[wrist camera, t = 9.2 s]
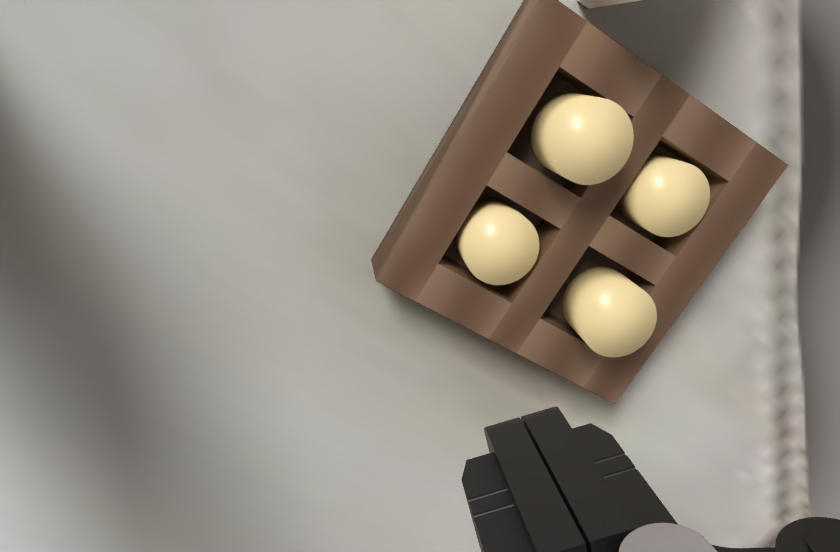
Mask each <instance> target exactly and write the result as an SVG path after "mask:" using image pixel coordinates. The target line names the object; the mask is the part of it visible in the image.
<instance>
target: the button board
mask: <svg viewBox="0 0 840 552" xmlns="http://www.w3.org/2000/svg"><path fill="white" fill-rule="evenodd" d="M569 93H577V94H583V95H589V96H595V97H600V98H605V99H609V100H611V101H613V102H615V103H617V104H618V105H619V106H621V107H622V108H623V109H624V110H625V112H626V113H627V115H628V116H629V118H630V120H631V123H632V127H633V134H634V140H633V147H632V150H631V154H630V156H629V158H628V160H627V162H626V163H625V165H624V166H623V167H622V169H621V170H620V171H619V172H618V173H617V174H615V175H614V176H613V177H611V178H610V179H608V180H606V181H604V182H602V183H599V184H594V185H581V184H577V183H574V182H572V181H570V180H568V179H566V178H564V177H562V176H561V175H559V174H557V173H555V172H553V171H551V170H549V169H548V168H546V167H545V166H544V165H542V164H541V163H540V161H539V160H538V159H537V157H536V155H535V153H534V151H533V148H532V143H531V131H532V126H533V123H534V120H535V118H536V116H537V114H538V113H539V111H540V110H541V109H542V108H543V106H544V105H545V104H547V103H548V102H549V101H550V100H552V99H554V98H556V97H558V96H560V95H563V94H569ZM651 153H654V154H660V155H663V156H667V157H670V158H673V159H676V160H679V161H682V162H686V163H689V164H691V165H694V166H695V167H697V168H698V169H700V170H701V171H702V172H703V174H704V175H705V177H706V178H707V181H708V184H709V188H710V200H709V204H708V207H707V210H706V212H705V214H704V216H703V217H702V219H701V220H700V221H699V223H698V224H697V225H696V226H695V227H693V228H692V229H691V230H689V231H688V232H686V233H684V234H682V235H679V236H675V237H661V236H658V235H655V234H653V233H651V232H649V231H648V230H646V229H644V228H642V227H641V226H639V225H637V224H635V223H633V222H632V221H630V220H628V219H626V218H625V217H624V216H623V215H622V214H621V213H620V212H619V211H618V209H617V207H616V205H617V203H618V202H619V200H620V199H621V197H622V196H623V194H624V193H625V191H626V190H627V188H628V187H629V185H630V184H631V182H632V181H633V179H634V178H635V176H636V175H637V173H638V172H639V170H640V169H641V167H642V166H643V164H644V163H645V161H646V160H647V158H648V157H649V155H650V154H651ZM787 166H788V164H786V163H785V162H783V161H782V160H781V159H779V158H778V157H776V156H775V155H774V154H772V153H771V152H769V151H768V150H767V149H765V148H764V147H762V146H761V145H760V144H758V143H757V142H755V141H754V140H753V139H751V138H750V137H748V136H747V135H746V134H744V133H743V132H741V131H740V130H739V129H737V128H736V127H734V126H733V125H732V124H730V123H729V122H727V121H726V120H725V119H723V118H722V117H720V116H719V115H718V114H716V113H715V112H713V111H712V110H711V109H709V108H708V107H706V106H705V105H704V104H702V103H701V102H699V101H698V100H697V99H695V98H694V97H692V96H691V95H690V94H688V93H687V92H685V91H684V90H683V89H681V88H680V87H678V86H677V85H676V84H674V83H673V82H671V81H670V80H669V79H667V78H666V77H664V76H663V75H662V74H660V73H659V72H657V71H656V70H655V69H653V68H652V67H650V66H649V65H648V64H646V63H645V62H643V61H642V60H641V59H639V58H638V57H636V56H635V55H634V54H632V53H631V52H629V51H628V50H626V49H625V48H624V47H622V46H621V45H619V44H618V43H617V42H615V41H614V40H612V39H611V38H610V37H608V36H607V35H605V34H604V33H603V32H601V31H600V30H598V29H597V28H596V27H594V26H593V25H591V24H590V23H589V22H587V21H586V20H584V19H583V18H582V17H580V16H579V15H577V14H576V13H575V12H573V11H572V10H570V9H569V8H568V7H566V6H565V5H563V4H562V3H561V2H559V1H558V0H524V1H523V3H522V4H521V6H520V8H519V9H518V11H517V13H516V15H515V16H514V18H513V20H512V21H511V23H510V25H509V26H508V28H507V30H506V32H505V33H504V35H503V37H502V38H501V40H500V42H499V43H498V45H497V47H496V49H495V50H494V52H493V54H492V55H491V57H490V59H489V60H488V62H487V64H486V66H485V67H484V69H483V71H482V72H481V74H480V76H479V77H478V79H477V81H476V83H475V84H474V86H473V88H472V89H471V91H470V93H469V94H468V96H467V98H466V99H465V101H464V103H463V105H462V106H461V108H460V110H459V111H458V113H457V115H456V116H455V118H454V120H453V122H452V123H451V125H450V127H449V128H448V130H447V132H446V133H445V135H444V137H443V139H442V140H441V142H440V144H439V145H438V147H437V149H436V150H435V152H434V154H433V156H432V157H431V159H430V161H429V162H428V164H427V166H426V167H425V169H424V171H423V173H422V174H421V176H420V178H419V179H418V181H417V183H416V184H415V186H414V188H413V189H412V191H411V193H410V195H409V196H408V198H407V200H406V201H405V203H404V205H403V206H402V208H401V210H400V212H399V213H398V215H397V217H396V218H395V220H394V222H393V223H392V225H391V227H390V229H389V230H388V232H387V234H386V235H385V237H384V239H383V240H382V242H381V244H380V246H379V247H378V249H377V251H376V252H375V254H374V256H373V257H372V259H371V260H372V264H373V269H374V274H375V279H376V281H377V282H379V283H381V284H383V285H384V286H386V287H388V288H390V289H392V290H394V291H396V292H398V293H400V294H402V295H404V296H406V297H408V298H410V299H412V300H414V301H416V302H418V303H419V304H421V305H423V306H425V307H427V308H429V309H431V310H433V311H435V312H437V313H439V314H441V315H443V316H445V317H447V318H449V319H451V320H453V321H454V322H456V323H458V324H460V325H462V326H464V327H466V328H468V329H470V330H472V331H474V332H476V333H478V334H480V335H482V336H484V337H486V338H488V339H490V340H491V341H493V342H495V343H497V344H499V345H501V346H503V347H505V348H507V349H509V350H511V351H513V352H515V353H517V354H519V355H521V356H523V357H525V358H526V359H528V360H530V361H532V362H534V363H536V364H538V365H540V366H542V367H544V368H546V369H548V370H550V371H552V372H554V373H556V374H558V375H560V376H561V377H563V378H565V379H567V380H569V381H571V382H573V383H575V384H577V385H579V386H581V387H583V388H585V389H587V390H589V391H591V392H593V393H595V394H596V395H598V396H600V397H602V398H604V399H606V400H608V401H610V402H612V403H614V404H615V403H616V402H617V400H618V399H619V397H620V396H621V395H622V393H623V392H624V390H625V389H626V388H627V386H628V385H629V384H630V382H631V381H632V379H633V378H634V377H635V375H636V374H637V373H638V371H639V370H640V368H641V367H642V366H643V364H644V363H645V362H646V360H647V359H648V357H649V356H650V355H651V353H652V352H653V351H654V349H655V348H656V346H657V345H658V344H659V342H660V341H661V340H662V338H663V337H664V335H665V334H666V333H667V331H668V330H669V329H670V327H671V326H672V324H673V323H674V322H675V320H676V319H677V318H678V316H679V315H680V313H681V312H682V311H683V309H684V308H685V307H686V305H687V304H688V302H689V301H690V300H691V298H692V297H693V295H694V294H695V293H696V291H697V290H698V289H699V287H700V286H701V284H702V283H703V282H704V280H705V279H706V278H707V276H708V275H709V273H710V272H711V271H712V269H713V268H714V267H715V265H716V264H717V262H718V261H719V260H720V258H721V257H722V256H723V254H724V253H725V251H726V250H727V249H728V247H729V246H730V245H731V243H732V242H733V240H734V239H735V238H736V236H737V235H738V234H739V232H740V231H741V229H742V228H743V227H744V225H745V224H746V223H747V221H748V220H749V218H750V217H751V216H752V214H753V213H754V211H755V210H756V209H757V207H758V206H759V205H760V203H761V202H762V200H763V199H764V198H765V196H766V195H767V194H768V192H769V191H770V189H771V188H772V187H773V185H774V184H775V183H776V181H777V180H778V178H779V177H780V176H781V174H782V173H783V172H784V170H785V169H786V167H787ZM489 198H492V199H499V200H502V201H505V202H507V203H508V204H510V205H511V206H512V207H514V208H515V209H516V210H517V211H518V212H520V213H521V214H522V215H523V216H524V217H525V218H527V219H528V220H529V221H530V222H531V223H532V225H533V226H534V227H535V229H536V231H537V234H538V237H539V253H538V257H537V259H536V262H535V264H534V265H533V267H532V268H531V270H530V271H529V272H528V273H527V274H526V275H525V276H523V277H522V278H521V279H519V280H517V281H515V282H513V283H510V284H506V285H492V284H488V283H485V282H483V281H481V280H479V279H478V278H476V277H475V276H474V275H473V274H472V273H471V271H470V270H469V268H468V267H467V265H466V264H465V262H464V260H463V259H462V257H461V256H460V254H459V253H458V251H457V249H456V247H455V244H454V237H455V236H456V234H457V232H458V231H459V229H460V227H461V226H462V224H463V223H464V221H465V219H466V218H467V216H468V214H469V213H470V211H471V210H472V208H473V206H474V205H475V203H476V201H479V200H482V199H489ZM600 266H601V267H610V268H613V269H615V270H617V271H619V272H620V273H622V274H623V275H624V276H625V277H627V278H628V279H629V280H631V281H632V282H633V283H635V284H636V285H637V286H639V287H640V288H641V289H643V290H644V291H645V292H646V293H647V294H649V295H650V297H651V298H652V300H653V301H654V303H655V306H656V311H657V321H656V325H655V328H654V331H653V333H652V335H651V336H650V338H649V339H648V341H647V342H646V343H645V344H644V345H643V346H642V347H640V348H639V349H638V350H636V351H635V352H633V353H631V354H628V355H626V356H622V357H606V356H602V355H600V354H597V353H596V352H594V351H593V350H592V349H591V348H590V347H589V346H588V345H587V344H586V343H585V341H584V340H583V339H582V338H581V337H580V336H579V335H578V334H577V332H576V331H575V330H574V329H573V328H572V327H571V326H570V324H569V323H568V322H567V321H566V319H565V317H564V314H563V310H562V300H563V295H564V292H565V290H566V288H567V286H568V285H569V283H570V282H571V281H572V280H573V279H574V278H575V277H576V276H577V275H578V274H580V273H581V272H583V271H585V270H587V269H590V268H593V267H600Z"/></svg>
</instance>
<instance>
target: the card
mask: <svg viewBox="0 0 840 552" xmlns="http://www.w3.org/2000/svg"><path fill="white" fill-rule="evenodd" d="M577 1H578V2H580V3H581V4H582V5H584V6H585V7H587V8H588V9H590V8H597V7H603V6H609V5H616V4H622V3H628V2H635V1H641V0H577Z"/></svg>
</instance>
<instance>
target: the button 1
mask: <svg viewBox="0 0 840 552" xmlns="http://www.w3.org/2000/svg"><path fill="white" fill-rule="evenodd" d="M454 244H455V247H456V249H457V251H458V253H459V254H460V256H461V257H462V259H463V260H464V262H465V264H466V265H467V267H468V268H469V270H470V271H471V273H472V274H473V275H474V276H475V277H476V278H478V279H479V280H481V281H483V282H485V283H488V284H492V285H506V284H510V283H513V282H515V281H517V280H519V279H521V278H522V277H523V276H525V275H526V274H527V273H528V272H529V271H530V270H531V268H532V267H533V265H534V264H535V262H536V259H537V257H538V253H539V237H538V234H537V231H536V229H535V227H534V226H533V225H532V223H531V222H530V221H529V220H528V219H527V218H525V217H524V216H523V215H522V214H521V213H520V212H518V211H517V210H516V209H515V208H514V207H512V206H511V205H510V204H508V203H507V202H505V201H502V200H499V199H492V198H489V199H482V200H479V201H476V203H475V205H474V206H473V208H472V210H471V211H470V213H469V214H468V216H467V218H466V219H465V221H464V223H463V224H462V226H461V227H460V229H459V231H458V232H457V234H456V236H455V237H454Z"/></svg>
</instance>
